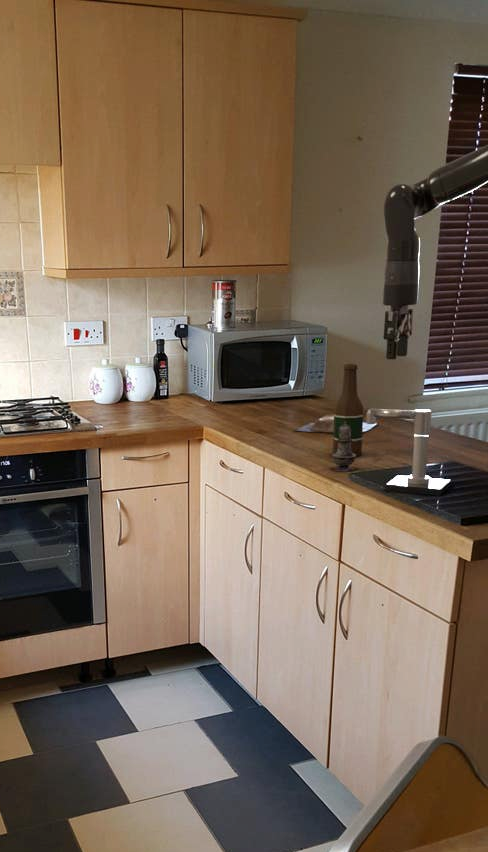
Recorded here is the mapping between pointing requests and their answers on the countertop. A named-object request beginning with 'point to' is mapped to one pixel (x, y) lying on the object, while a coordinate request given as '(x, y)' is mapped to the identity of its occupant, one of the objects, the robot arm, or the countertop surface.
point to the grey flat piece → (328, 425)
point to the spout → (420, 418)
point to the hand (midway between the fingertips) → (396, 357)
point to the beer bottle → (349, 411)
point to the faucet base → (418, 488)
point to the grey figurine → (344, 450)
